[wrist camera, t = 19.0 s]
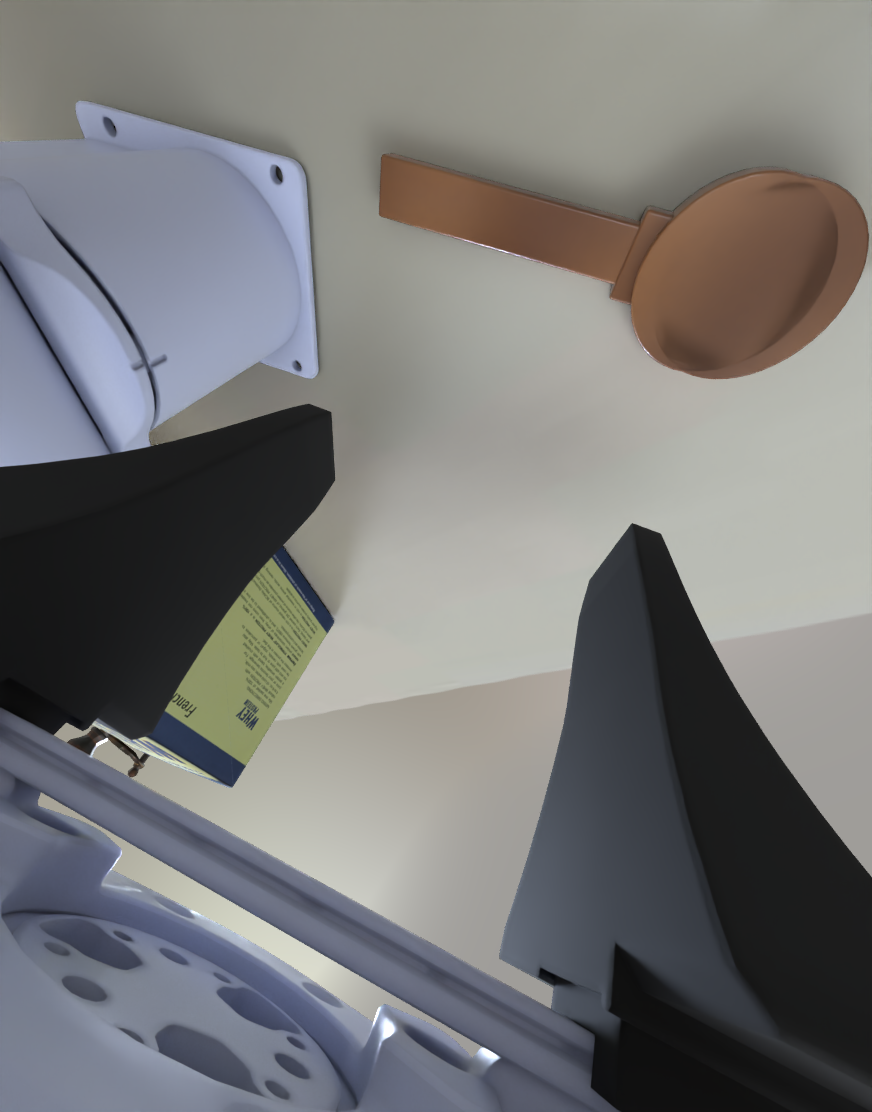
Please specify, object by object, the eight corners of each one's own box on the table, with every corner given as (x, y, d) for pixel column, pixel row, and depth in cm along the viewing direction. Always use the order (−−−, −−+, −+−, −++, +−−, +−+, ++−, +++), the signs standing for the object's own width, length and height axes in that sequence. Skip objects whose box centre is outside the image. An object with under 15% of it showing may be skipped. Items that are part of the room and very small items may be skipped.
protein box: (245, 490, 29) (43, 682, 19) (338, 621, 39) (235, 792, 29) (157, 495, 34) (-44, 653, 24) (260, 612, 44) (149, 758, 34)
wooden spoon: (384, 270, 16) (371, 278, 15) (394, 69, 12) (377, 66, 11) (760, 384, 15) (767, 398, 14) (909, 200, 11) (931, 206, 10)
